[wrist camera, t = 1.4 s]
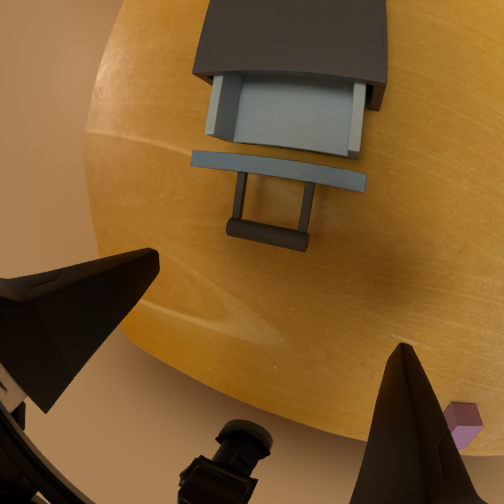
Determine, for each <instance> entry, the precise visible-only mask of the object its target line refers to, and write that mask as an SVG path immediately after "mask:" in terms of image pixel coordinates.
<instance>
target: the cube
mask: <svg viewBox="0 0 504 504" xmlns="http://www.w3.org/2000/svg"><path fill="white" fill-rule="evenodd" d="M444 417H445V419H446V421H447V424H448V426H449V428H448V429H450V431H451V434H452V437H453V439H454V442H455V444H456V447H457V449H465V448H466V447H467V446H468V445H469V443H470V442H471V441H472V440H473V439H474V437H475V436H476V435H477V434H478V433H479V431H480V430H481V429H482V427H483V423H482V420H481V417H480V415H479V412H478V409H477V406H476V404H466V403H454V402H451V403H450V405H449V406H448V408H447V409H446V411H445V412H444Z"/></svg>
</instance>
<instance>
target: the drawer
mask: <svg viewBox="0 0 504 504" xmlns="http://www.w3.org/2000/svg"><path fill="white" fill-rule="evenodd" d="M365 93H366V84H364V83H358V82H352V81H345V80H338V79H330V78H321V77H311V76H297V75H278V74H232V75H214V80H213V85H212V91H211V97H210V103H209V108H208V115H207V121H206V127H205V135H209V136H212V137H215V138H218V139H221V140H224V141H227V142H233V143H245V144H256V145H266V146H275V147H283V148H291V149H299V150H306V151H312V152H319V153H325V154H331V155H336V156H342V157H347V158H352V159H358V157H359V151H360V144H361V135H362V126H363V116H364V105H365ZM191 166H193V167H203V168H212V169H220V170H229V171H237V172H238V176H237V183H236V191H235V198H234V206H233V214H232V218H230V219H229V220H228V222H227V226H226V233H227V235H228V236H233V237H237V238H242V239H246V240H251V241H255V242H260V243H264V244H269V245H273V246H278V247H282V248H287V249H291V250H296V251H300V252H306V250H307V247H308V243H309V237H310V235H309V233H307V230H308V225H309V219H310V213H311V207H312V201H313V195H314V189H315V183H316V184H322V185H327V186H332V187H337V188H342V189H347V190H352V191H357V192H362V193H364V192H365V187H366V181H367V174H365V173H360V172H355V171H350V170H345V169H340V168H335V167H329V166H324V165H318V164H312V163H305V162H299V161H292V160H285V159H278V158H270V157H262V156H253V155H243V154H233V153H221V152H208V151H192V158H191ZM248 173H253V174H260V175H267V176H274V177H281V178H287V179H293V180H299V181H305V182H306V183H305V190H304V196H303V202H302V208H301V214H300V220H299V226H298V231H297V230H292V229H288V228H283V227H278V226H273V225H268V224H263V223H258V222H253V221H248V220H243V219H241V218H242V213H243V205H244V198H245V190H246V183H247V176H248Z"/></svg>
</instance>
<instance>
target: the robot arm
mask: <svg viewBox="0 0 504 504" xmlns="http://www.w3.org/2000/svg"><path fill="white" fill-rule="evenodd" d="M159 270H160V265H159V253H158V251H156V250H154V249H152V248H144V249H139V250H135V251H131V252H126V253H122V254H118V255H114V256H109V257H105V258H101V259H97V260H93V261H89V262H85V263H81V264H76V265H73V266H69V267H66V268H65V267H64V268H60V269H56V270H52V271H48V272H43V273H38V274H33V275H28V276H22V277H17V278H11V279H4V278H0V504H47V503H46V502H45V501H44V500H43V499H41V498H40V497H39V496H37V495H36V493H37V492H38V491H39V492H40V493H41V494H42V495H43V496H44V497H45V498H46V499H47V500H48V501H49V502H50V503H51V504H95V503H94V502H93V501H92V500H90V499H89V498H88V497H87V496H85V495H84V494H83V493H82V492H81V491H80V490H78V489H77V488H76V487H75V486H74V485H73V484H72V483H71V482H70V481H68V480H67V479H66V478H65V477H64V476H63V475H62V474H61V473H60V472H59V471H58V470H57V469H56V468H55V467H54V466H53V465H52V464H51V463H50V462H49V461H48V460H47V459H46V458H45V456H43V454H42V453H41V452H40V451H39V450H38V449H37V448H36V446H35V445H34V444H33V443H32V442H31V440H30V439H29V438H28V437H27V436H26V435H25V433H24V432H23V431H24V429H25V408H26V404H25V402H24V401H23V400H24V399H25V398H26V397H27V396H29V397H30V399H31V400H32V401H33V402H34V403H35V404H36V405H37V406H38V407H39V408H40V409H41V410H42V411H43V412H44V413H45V414H46V413H47V412H48V411H49V410H50V409H51V407H52V406H53V405H54V403H55V402H56V401H57V399H58V398H59V397H60V395H61V394H62V393H63V392H64V390H65V389H66V388H67V387H68V385H69V384H70V383H71V381H72V380H73V379H74V377H75V376H76V375H77V374H78V372H79V371H80V370H81V369H82V368H83V366H84V365H85V364H86V363H87V361H88V360H89V359H90V358H91V356H92V355H93V354H94V353H95V352H96V350H97V349H98V348H99V347H100V346H101V344H102V343H103V342H104V341H105V340H106V338H107V337H108V336H109V335H110V334H111V333H112V331H113V330H114V329H115V328H116V327H117V326H118V324H119V323H120V322H121V321H122V320H123V319H124V318H125V316H126V315H127V314H128V313H129V312H130V311H131V310H132V308H133V307H134V306H135V305H136V304H137V302H138V301H139V300H140V299H141V297H142V296H143V294H144V293H145V292H146V290H147V289H148V287H149V286H150V285H151V283H152V282H153V281H154V279H155V278H156V277H157V275H158V273H159ZM448 428H449V426H448V424H447V421H446V419H445V417H444V414H443V412H442V409H441V407H440V405H439V402H438V400H437V398H436V395H435V393H434V391H433V389H432V386H431V384H430V382H429V380H428V378H427V376H426V374H425V371H424V369H423V367H422V365H421V363H420V361H419V359H418V357H417V355H416V353H415V351H414V349H413V347H412V346H411V345H409V344H406V343H403V342H401V343H399V344H398V346H397V347H396V348H395V350H394V351H393V353H392V354H391V355H390V357H389V358H388V360H387V363H386V367H385V371H384V375H383V378H382V382H381V386H380V389H379V393H378V396H377V400H376V404H375V409H374V414H373V419H372V424H371V429H370V433H369V437H368V442H367V446H366V450H365V454H364V458H363V461H362V465H361V468H360V472H359V475H358V479H357V482H356V485H355V488H354V491H353V494H352V497H351V500H350V503H349V504H488V503H486V502H484V501H483V500H482V499H481V498H480V497H479V496H478V494H477V493H476V491H475V489H474V487H473V484H472V482H471V479H470V477H469V475H468V472H467V470H466V468H465V466H464V463H463V461H462V459H461V456H460V454H459V452H458V449H457V447H456V444H455V442H454V439H453V437H452V434H451V431H450V429H448ZM215 440H216V441H217V442H218V443H219V444H220V445H221V446H220V448H219V449H218V450H217V452H216V454H215V455H214V457H213V458H212V460H209V459H207V458H205V457H204V456H203V455H200V456H199V458H195V459H194V460H193V462H192V463H191V464H190V465H189V466H188V467H187V468H186V469H185V470H184V471H183V472H181V473H180V475H179V476H180V483H179V487H181V488H180V490H179V491H178V500H177V504H247V503H248V501H249V500H250V498H251V495H252V493H253V491H254V489H255V486H256V484H257V482H258V479H254V478H251V477H250V475H251V473H252V471H253V469H254V468H255V466H256V465H257V463H258V461H259V458H263V457H267V456H270V454H271V452H270V451H269V450H268V449H267V448H265V447H264V446H263V445H262V444H260V443H259V442H258V441H257V440H256V439H255V438H253V437H252V436H251V435H250V434H249V433H248V432H247V431H245V430H244V429H242V428H240V429H237V430H235V431H232V432H229V433H226V434H223V435H220V436H217V437H216V438H215Z"/></svg>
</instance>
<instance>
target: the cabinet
mask: <svg viewBox="0 0 504 504" xmlns="http://www.w3.org/2000/svg"><path fill="white" fill-rule="evenodd" d="M192 74H193V75H195V76H197V77H199V78H200V79H202V80H204V81H205V82H207V83H209V84H210V85H213V80H214V75H232V74H278V75H297V76H311V77H321V78H330V79H338V80H345V81H352V82H358V83H364V84H366V93H365V105H364V108H365V109H370V110H375V111H379V109H380V105H381V102H382V99H383V95H384V91H385V88H386V84H387V19H386V3H385V0H210V2H209V6H208V9H207V13H206V16H205V20H204V24H203V28H202V32H201V36H200V40H199V44H198V48H197V53H196V57H195V62H194V66H193V71H192Z"/></svg>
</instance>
